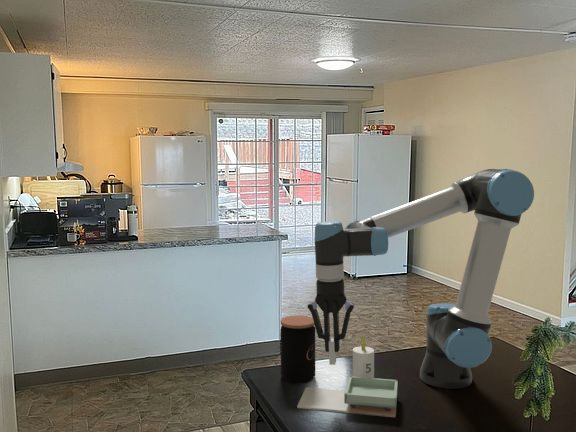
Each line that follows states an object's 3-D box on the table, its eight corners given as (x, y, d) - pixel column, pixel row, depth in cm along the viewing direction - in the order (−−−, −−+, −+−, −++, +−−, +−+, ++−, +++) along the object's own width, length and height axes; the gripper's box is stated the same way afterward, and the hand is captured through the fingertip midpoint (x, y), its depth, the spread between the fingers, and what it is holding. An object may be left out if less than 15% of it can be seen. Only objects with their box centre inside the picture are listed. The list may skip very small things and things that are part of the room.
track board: (396, 396, 153) (397, 395, 153) (395, 417, 140) (395, 415, 140) (306, 388, 158) (306, 387, 158) (297, 407, 146) (297, 406, 146)
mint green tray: (397, 394, 152) (397, 380, 152) (396, 414, 140) (396, 398, 140) (349, 390, 155) (349, 376, 155) (344, 409, 143) (344, 394, 143)
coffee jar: (312, 385, 160) (312, 326, 159) (277, 383, 163) (276, 324, 161) (317, 372, 171) (317, 316, 169) (284, 369, 173) (284, 314, 171)
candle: (358, 390, 157) (359, 339, 156) (348, 381, 163) (349, 333, 162) (378, 387, 159) (378, 337, 158) (367, 378, 165) (368, 330, 164)
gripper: (355, 275, 149) (357, 358, 152) (308, 275, 152) (312, 356, 154) (352, 282, 142) (355, 369, 144) (303, 281, 145) (307, 366, 147)
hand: (332, 362), depth 149 cm, fingers closed
